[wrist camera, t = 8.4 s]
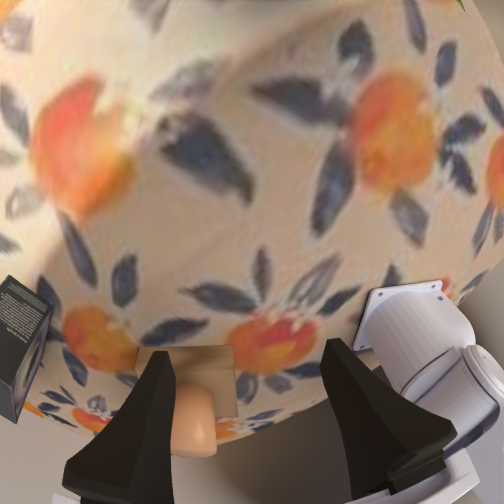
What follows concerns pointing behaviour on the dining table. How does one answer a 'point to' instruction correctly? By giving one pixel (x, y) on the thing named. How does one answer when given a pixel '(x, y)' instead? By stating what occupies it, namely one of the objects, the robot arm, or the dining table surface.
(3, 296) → the small box
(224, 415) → the tan square base block
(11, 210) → the dining table surface
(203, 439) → the peach domed cylinder
